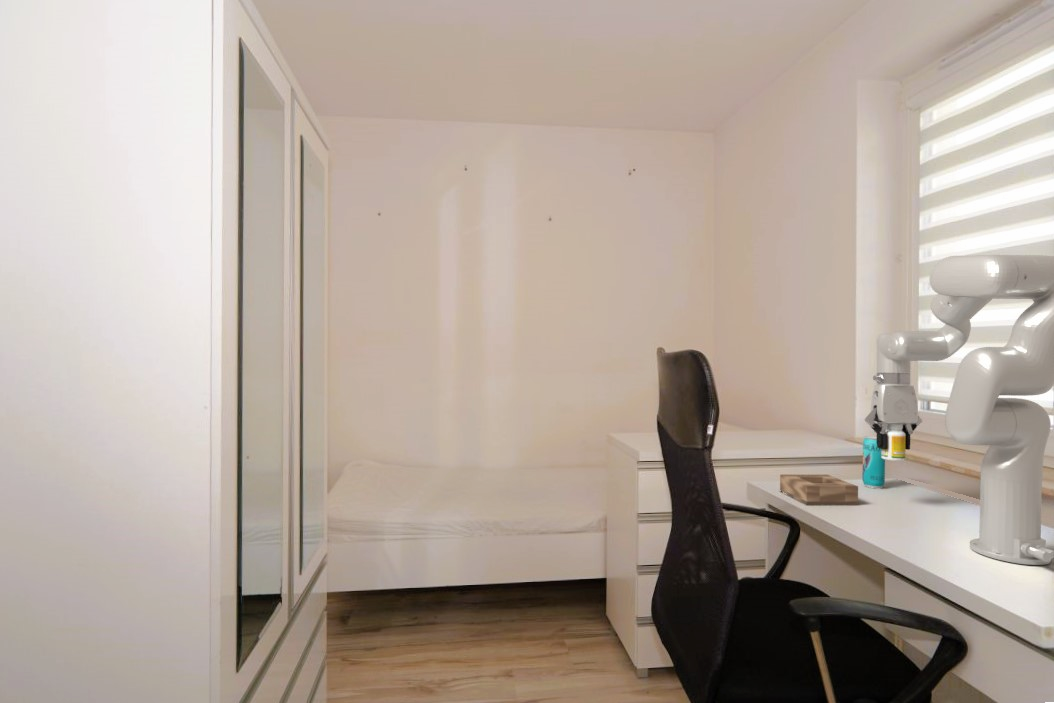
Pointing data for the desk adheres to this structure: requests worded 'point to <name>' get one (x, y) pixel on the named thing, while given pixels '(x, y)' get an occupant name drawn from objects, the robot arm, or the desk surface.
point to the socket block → (819, 489)
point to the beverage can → (872, 463)
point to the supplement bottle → (894, 443)
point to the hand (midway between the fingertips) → (893, 448)
